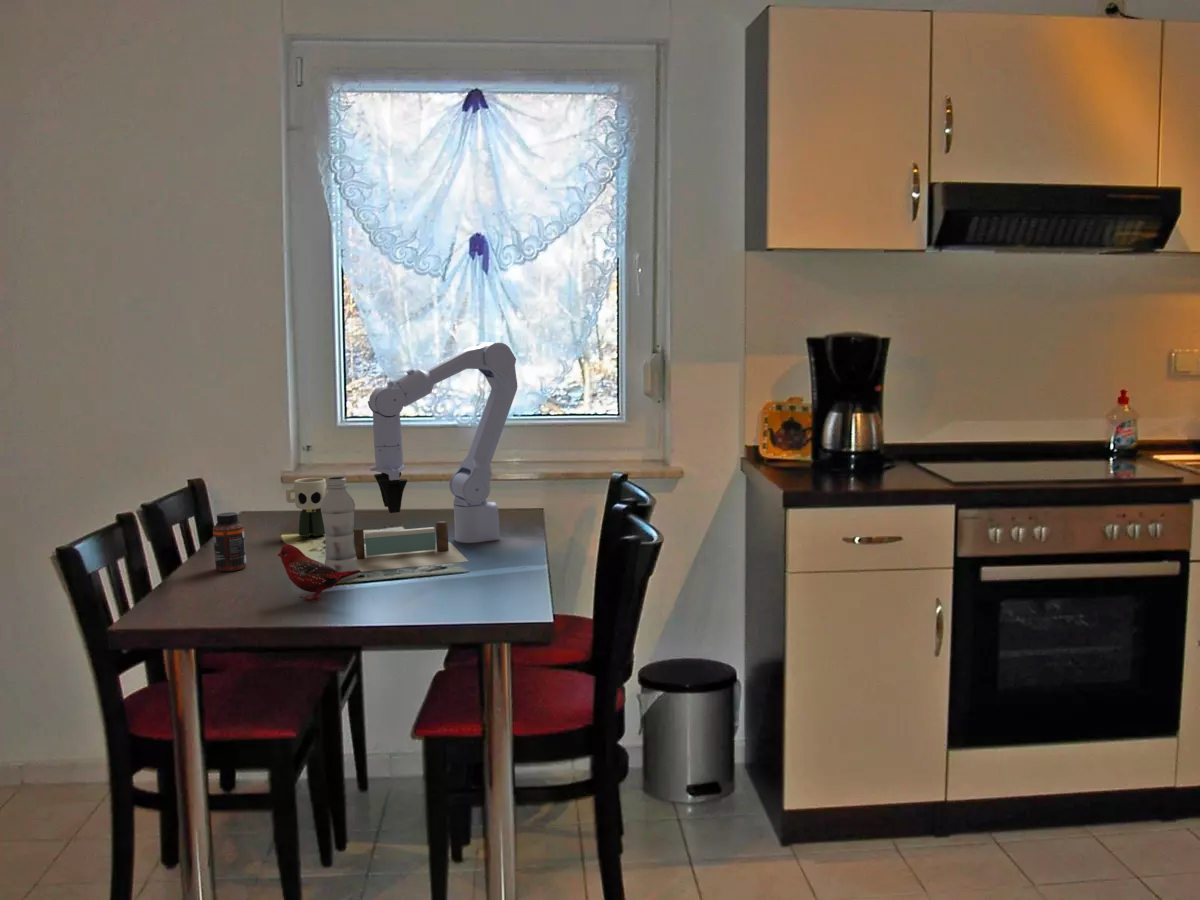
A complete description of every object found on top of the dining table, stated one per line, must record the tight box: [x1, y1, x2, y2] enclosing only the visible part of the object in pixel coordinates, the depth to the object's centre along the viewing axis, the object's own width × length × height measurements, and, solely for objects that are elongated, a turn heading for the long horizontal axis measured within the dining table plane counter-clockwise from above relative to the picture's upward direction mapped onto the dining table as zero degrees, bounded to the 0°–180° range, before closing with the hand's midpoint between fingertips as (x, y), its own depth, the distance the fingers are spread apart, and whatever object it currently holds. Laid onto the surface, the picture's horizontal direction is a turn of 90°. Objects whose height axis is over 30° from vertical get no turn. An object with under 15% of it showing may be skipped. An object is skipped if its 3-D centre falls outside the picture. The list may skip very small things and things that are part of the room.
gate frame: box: [353, 520, 469, 573], centre depth 233 cm, size 22×20×7 cm
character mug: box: [285, 477, 328, 537], centre depth 261 cm, size 11×7×13 cm, turn 97°
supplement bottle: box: [212, 511, 247, 572], centre depth 230 cm, size 6×6×11 cm
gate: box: [364, 526, 436, 556], centre depth 235 cm, size 14×2×4 cm, turn 108°
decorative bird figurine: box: [277, 543, 362, 602], centre depth 203 cm, size 3×18×10 cm, turn 67°
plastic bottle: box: [321, 476, 359, 582], centre depth 216 cm, size 6×7×20 cm
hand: (392, 509), depth 240 cm, fingers open, 7 cm apart
